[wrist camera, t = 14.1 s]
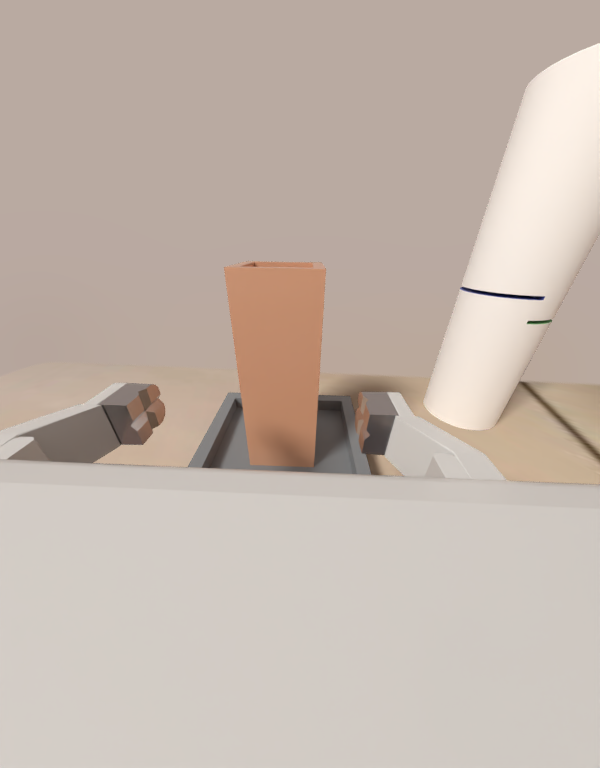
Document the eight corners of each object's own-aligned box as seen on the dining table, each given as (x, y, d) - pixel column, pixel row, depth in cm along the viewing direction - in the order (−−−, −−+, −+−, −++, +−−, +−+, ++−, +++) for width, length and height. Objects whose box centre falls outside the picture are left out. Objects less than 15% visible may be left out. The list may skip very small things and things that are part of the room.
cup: (313, 425, 23) (321, 262, 16) (313, 467, 19) (325, 268, 12) (261, 423, 23) (247, 261, 16) (250, 464, 19) (223, 267, 12)
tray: (347, 411, 26) (350, 396, 25) (373, 518, 16) (378, 500, 15) (230, 407, 27) (228, 392, 26) (181, 511, 16) (173, 492, 15)
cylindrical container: (419, 388, 31) (505, 107, 18) (482, 397, 29) (624, 96, 17) (429, 423, 25) (568, 40, 12) (509, 436, 23) (763, 12, 11)
